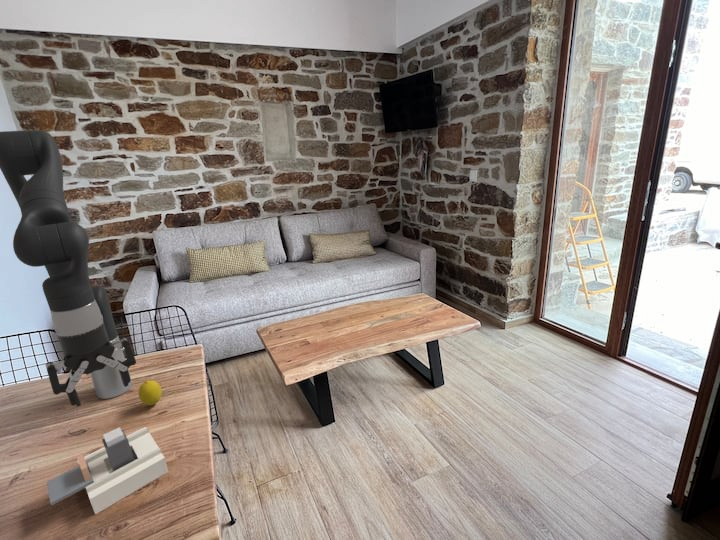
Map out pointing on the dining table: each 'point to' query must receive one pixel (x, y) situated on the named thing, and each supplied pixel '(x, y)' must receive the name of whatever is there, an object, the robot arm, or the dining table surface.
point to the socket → (124, 471)
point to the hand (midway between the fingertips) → (102, 394)
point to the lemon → (150, 392)
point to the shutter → (69, 482)
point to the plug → (117, 448)
